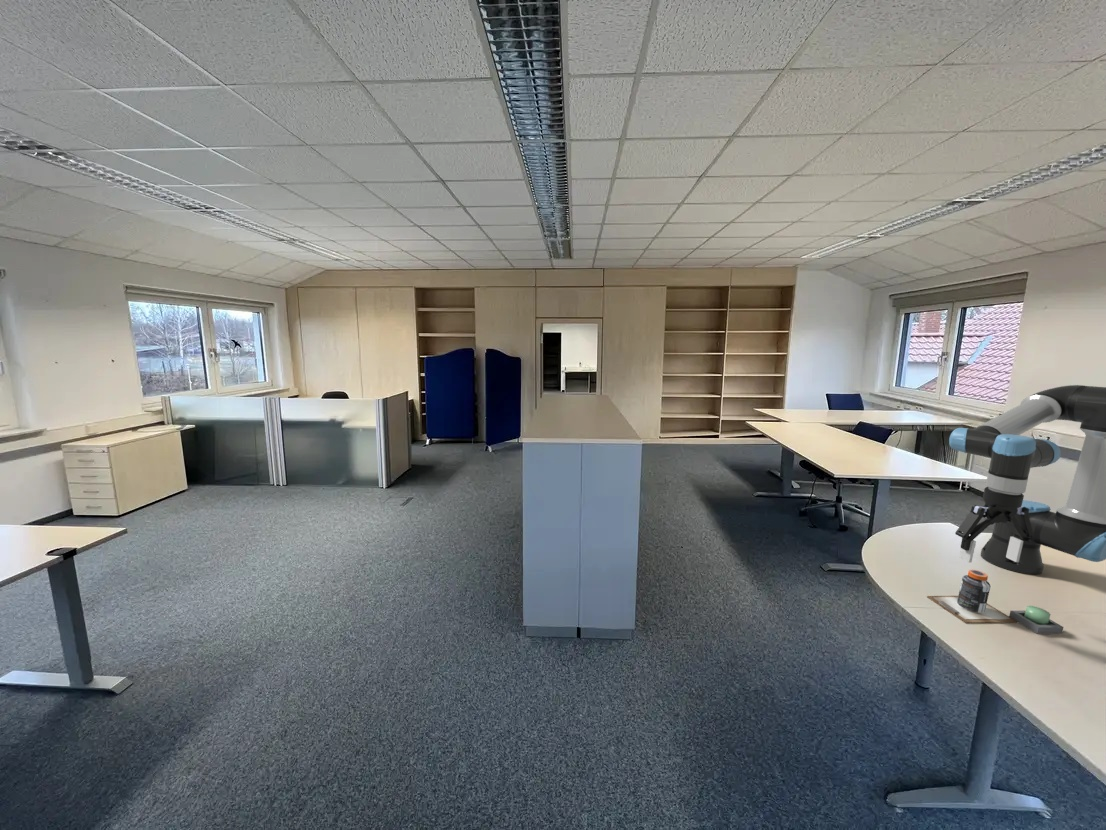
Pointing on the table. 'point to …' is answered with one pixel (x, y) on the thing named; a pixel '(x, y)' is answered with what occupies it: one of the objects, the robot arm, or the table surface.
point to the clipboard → (968, 616)
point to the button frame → (1039, 629)
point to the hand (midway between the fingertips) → (988, 559)
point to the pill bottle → (974, 591)
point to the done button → (1037, 615)
